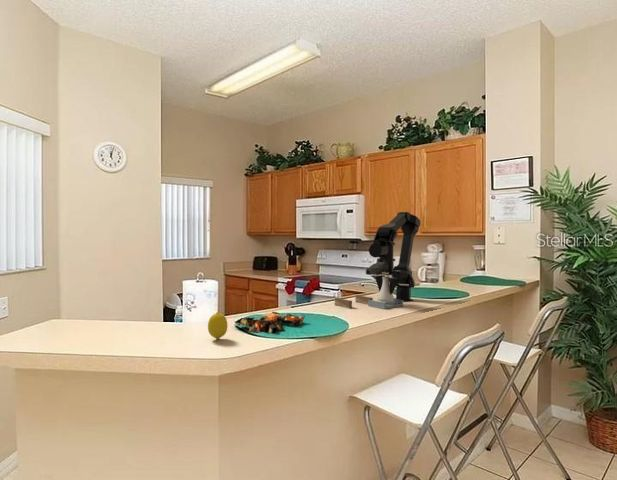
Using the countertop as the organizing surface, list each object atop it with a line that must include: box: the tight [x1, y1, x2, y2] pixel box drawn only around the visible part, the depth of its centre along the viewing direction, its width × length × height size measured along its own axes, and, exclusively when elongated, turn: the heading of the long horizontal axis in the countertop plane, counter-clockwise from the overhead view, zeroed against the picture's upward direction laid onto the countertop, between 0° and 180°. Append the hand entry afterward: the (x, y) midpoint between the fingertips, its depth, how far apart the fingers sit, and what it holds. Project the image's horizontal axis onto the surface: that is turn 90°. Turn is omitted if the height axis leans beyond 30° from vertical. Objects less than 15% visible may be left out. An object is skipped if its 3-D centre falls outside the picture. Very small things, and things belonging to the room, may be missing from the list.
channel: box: [334, 294, 374, 310], centre depth 171 cm, size 14×9×3 cm, turn 128°
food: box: [234, 311, 306, 334], centre depth 135 cm, size 22×19×4 cm
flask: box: [376, 276, 394, 302], centre depth 169 cm, size 7×7×10 cm
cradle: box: [367, 299, 404, 310], centre depth 170 cm, size 12×9×2 cm
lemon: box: [207, 311, 228, 341], centre depth 116 cm, size 6×6×8 cm
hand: (385, 293), depth 170 cm, fingers closed on flask, 5 cm apart
